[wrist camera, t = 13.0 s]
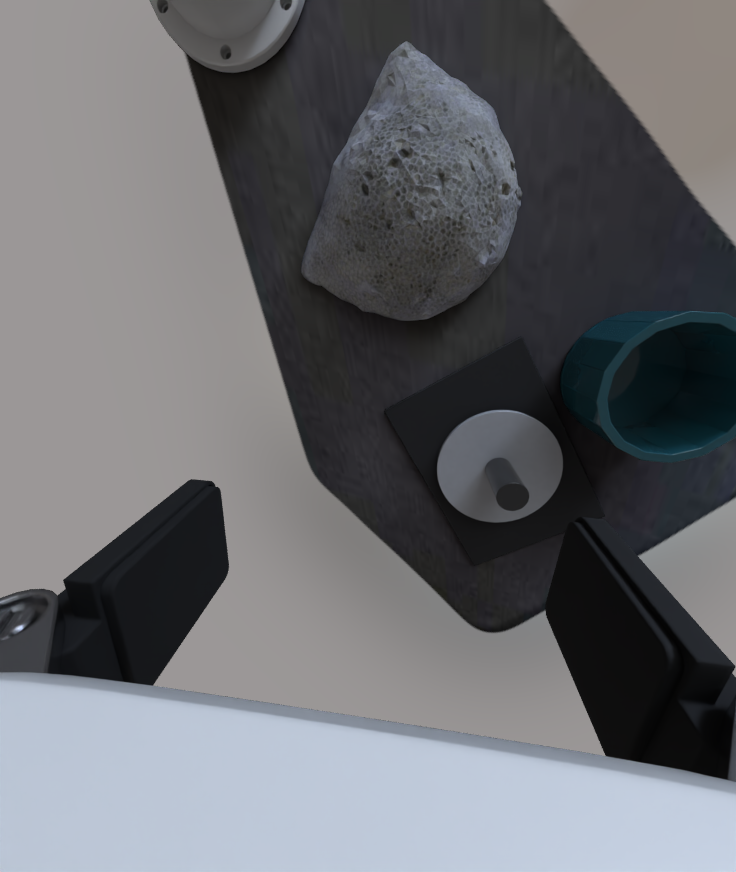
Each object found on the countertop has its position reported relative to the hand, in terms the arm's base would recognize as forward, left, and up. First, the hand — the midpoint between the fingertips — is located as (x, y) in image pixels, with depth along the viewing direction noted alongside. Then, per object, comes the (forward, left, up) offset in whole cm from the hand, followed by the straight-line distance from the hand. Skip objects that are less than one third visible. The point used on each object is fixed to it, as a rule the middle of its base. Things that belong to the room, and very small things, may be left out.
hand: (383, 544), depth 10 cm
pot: (-2, +19, -27) cm, 33 cm away
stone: (-13, 0, -27) cm, 30 cm away
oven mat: (+8, +9, -27) cm, 29 cm away
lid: (+8, +9, -25) cm, 28 cm away
